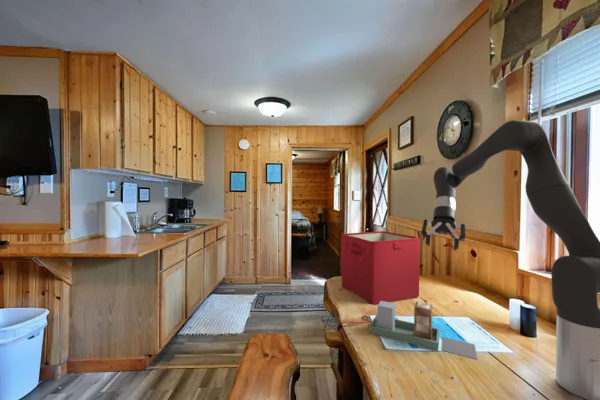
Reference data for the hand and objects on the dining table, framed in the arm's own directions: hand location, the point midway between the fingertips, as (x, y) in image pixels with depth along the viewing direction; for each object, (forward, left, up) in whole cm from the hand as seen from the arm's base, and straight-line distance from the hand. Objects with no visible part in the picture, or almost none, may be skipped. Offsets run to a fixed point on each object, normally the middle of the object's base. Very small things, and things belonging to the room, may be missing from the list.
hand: (441, 247), depth 96 cm
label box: (-8, +11, -29) cm, 32 cm away
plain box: (-1, +21, -29) cm, 36 cm away
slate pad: (-13, +3, -29) cm, 32 cm away
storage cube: (+38, +8, -30) cm, 49 cm away
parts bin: (-4, +16, -29) cm, 34 cm away
